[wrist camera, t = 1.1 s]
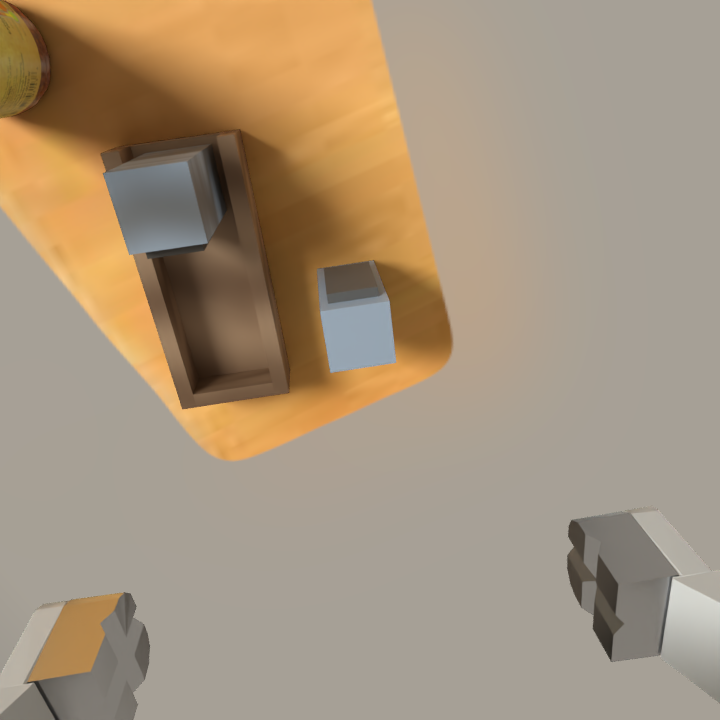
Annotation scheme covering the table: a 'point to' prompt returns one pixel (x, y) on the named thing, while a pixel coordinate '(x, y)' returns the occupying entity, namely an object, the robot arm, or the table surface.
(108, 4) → the table surface
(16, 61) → the sauce bottle
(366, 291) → the blue grey rectangular block
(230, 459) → the table surface
